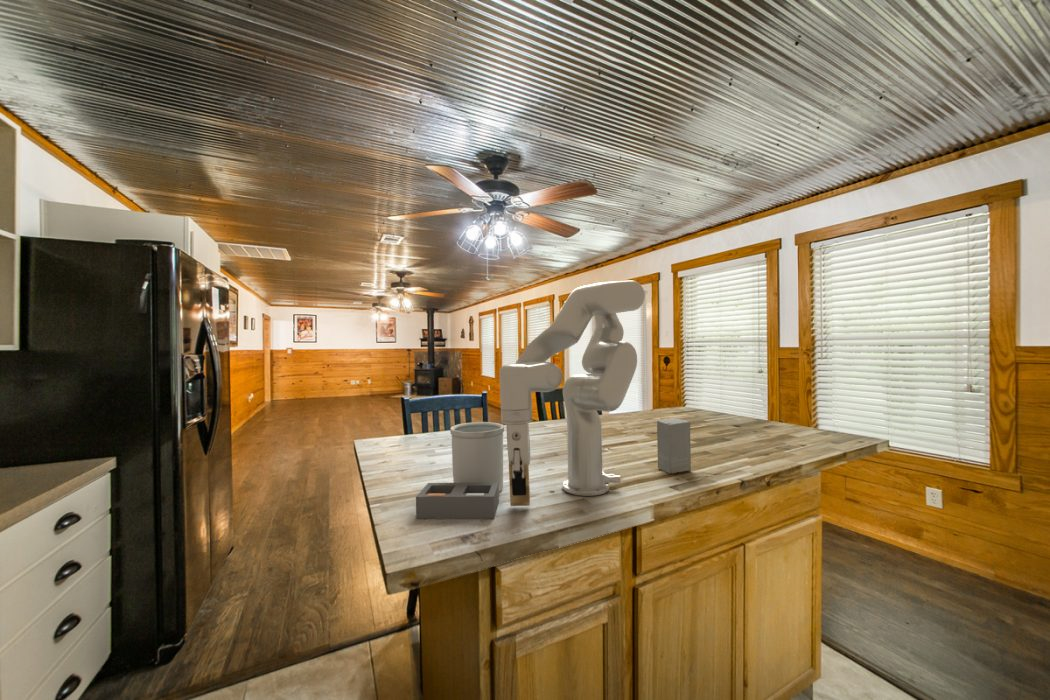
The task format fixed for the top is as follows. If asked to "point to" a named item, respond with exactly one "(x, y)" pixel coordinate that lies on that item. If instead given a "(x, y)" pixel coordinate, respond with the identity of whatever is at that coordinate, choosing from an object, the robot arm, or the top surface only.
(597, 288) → the robot arm
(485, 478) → the utensil holder
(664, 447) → the skincare box
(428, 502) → the socket block
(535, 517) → the top surface
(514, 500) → the plug
